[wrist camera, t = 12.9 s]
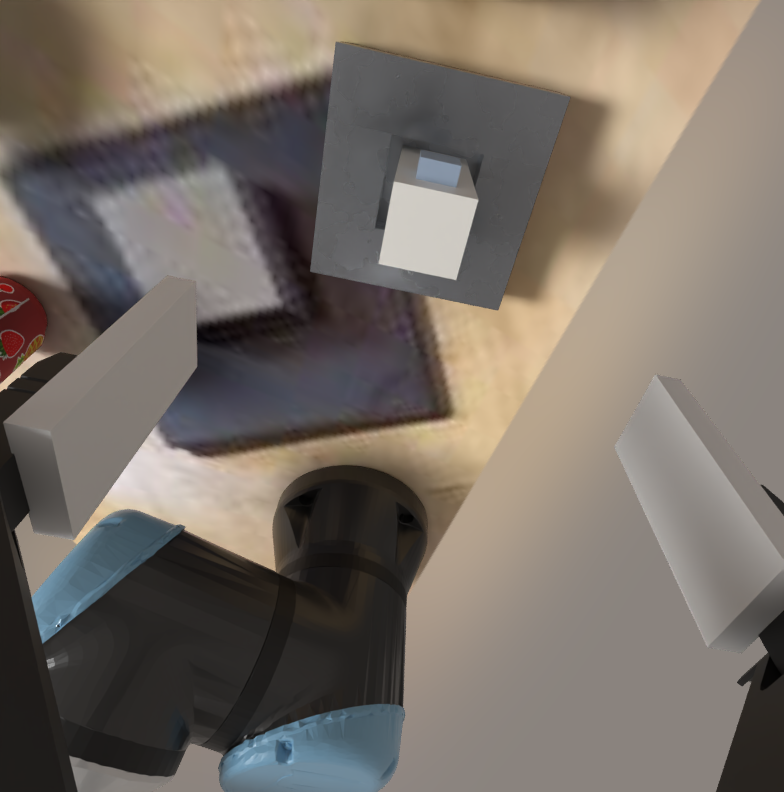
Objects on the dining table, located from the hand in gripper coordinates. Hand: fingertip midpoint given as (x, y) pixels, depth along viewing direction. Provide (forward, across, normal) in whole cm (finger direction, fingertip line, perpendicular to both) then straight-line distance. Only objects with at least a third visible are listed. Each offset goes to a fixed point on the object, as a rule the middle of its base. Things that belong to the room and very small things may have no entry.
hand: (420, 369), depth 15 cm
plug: (+22, 0, 0) cm, 23 cm away
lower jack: (+23, 0, 0) cm, 23 cm away
